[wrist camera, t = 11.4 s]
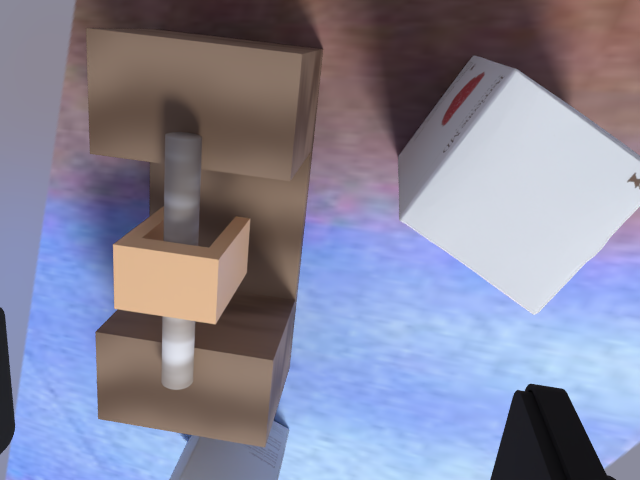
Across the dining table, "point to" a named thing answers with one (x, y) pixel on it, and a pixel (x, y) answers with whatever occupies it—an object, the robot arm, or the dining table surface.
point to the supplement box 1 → (232, 458)
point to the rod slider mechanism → (208, 218)
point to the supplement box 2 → (515, 182)
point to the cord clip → (179, 271)
